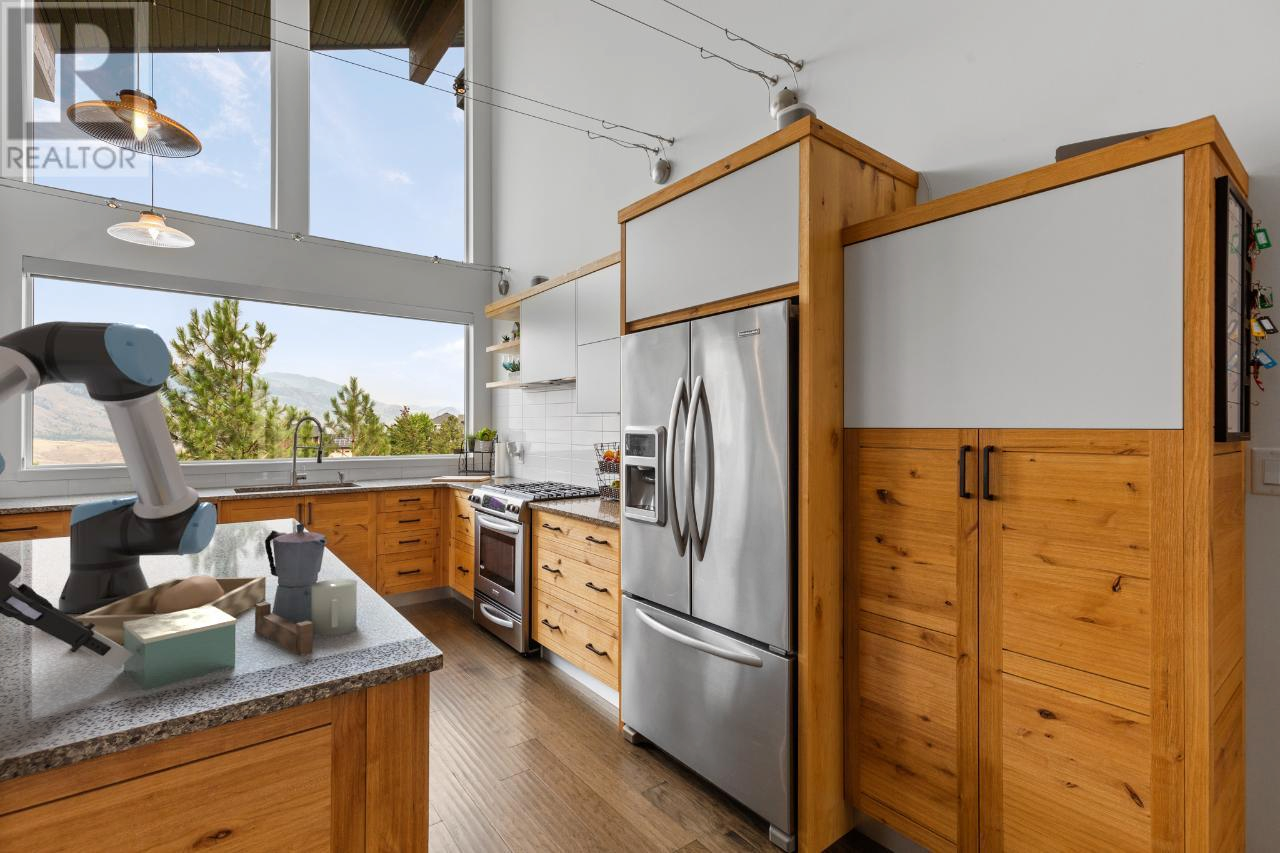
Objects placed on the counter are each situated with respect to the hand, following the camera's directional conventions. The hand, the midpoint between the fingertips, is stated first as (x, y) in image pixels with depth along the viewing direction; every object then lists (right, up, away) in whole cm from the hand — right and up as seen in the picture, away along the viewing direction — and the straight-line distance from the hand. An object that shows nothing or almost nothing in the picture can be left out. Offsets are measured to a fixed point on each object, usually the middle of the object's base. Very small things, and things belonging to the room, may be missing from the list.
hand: (124, 660), depth 95 cm
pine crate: (-14, -3, +30) cm, 34 cm away
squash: (-14, -3, +30) cm, 34 cm away
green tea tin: (+4, -4, +6) cm, 8 cm away
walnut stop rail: (+14, -4, +19) cm, 23 cm away
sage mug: (+20, -4, +25) cm, 32 cm away
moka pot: (+9, -4, +30) cm, 32 cm away
